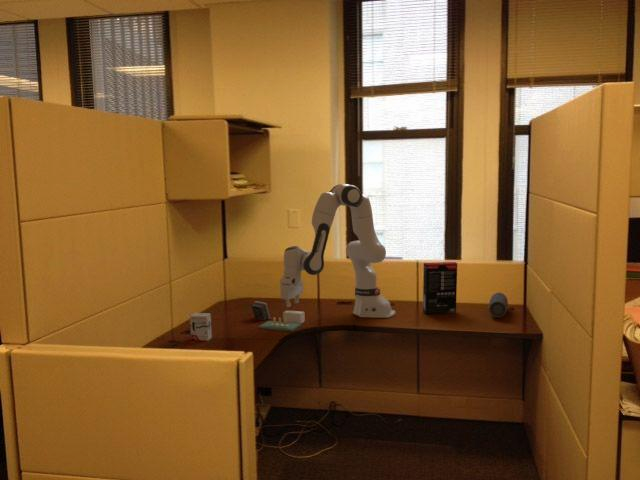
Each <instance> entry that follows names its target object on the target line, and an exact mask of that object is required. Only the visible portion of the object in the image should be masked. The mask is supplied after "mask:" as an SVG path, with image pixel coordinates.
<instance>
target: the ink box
mask: <svg viewBox="0 0 640 480" xmlns="http://www.w3.org/2000/svg"><path fill="white" fill-rule="evenodd" d="M211 315H212V314H211V313H209V312H207V313H206V312H202V313H201V312H195V313H194V312H193V313H192V314H191V315H189V323H190V324H189V325H190V340H191V339H195V340H194V341H204V340H205V341H206V342H207V341H210V340H211V339H213V338H212V336H213V335H212V316H211Z"/></svg>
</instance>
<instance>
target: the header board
mask: <svg viewBox="0 0 640 480" xmlns="http://www.w3.org/2000/svg"><path fill="white" fill-rule="evenodd" d="M272 318H273V319H272V320H273V321H272V320H268V321H266V322H264V323H262V324H260V325H258V327H259V329H265V330H275V331H285V332H293V331H295V330H297V329H298V327H299V328H301V326H302V323H289V322H287V318H284V322H283V321H282V317H278V321H277V319H276V317H275V316H273V317H272Z"/></svg>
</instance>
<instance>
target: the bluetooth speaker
mask: <svg viewBox="0 0 640 480" xmlns="http://www.w3.org/2000/svg"><path fill="white" fill-rule="evenodd" d="M508 307H509V301H508V297H507V296H506V295H505V294H504V293H502V292H496V293H494V294H493V295H492V296H491V298H489V304H488V311H489V313H490V315H491V316H492V317H494V318H502V317H505V315H506V314H507V310H508Z"/></svg>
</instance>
